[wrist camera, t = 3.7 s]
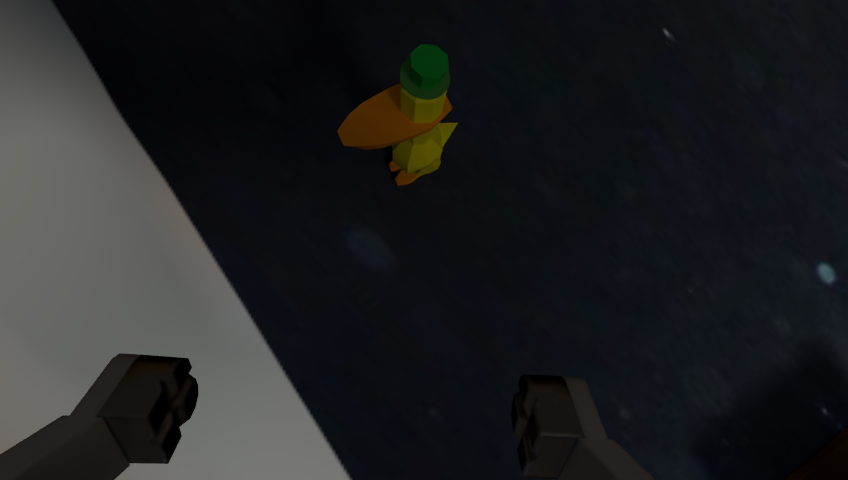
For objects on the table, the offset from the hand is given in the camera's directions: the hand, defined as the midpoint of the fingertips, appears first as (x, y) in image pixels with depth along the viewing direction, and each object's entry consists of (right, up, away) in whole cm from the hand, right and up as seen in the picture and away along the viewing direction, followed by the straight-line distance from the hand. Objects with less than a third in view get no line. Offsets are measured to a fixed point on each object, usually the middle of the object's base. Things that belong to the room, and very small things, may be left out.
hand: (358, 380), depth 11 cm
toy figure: (0, +8, +18) cm, 20 cm away
